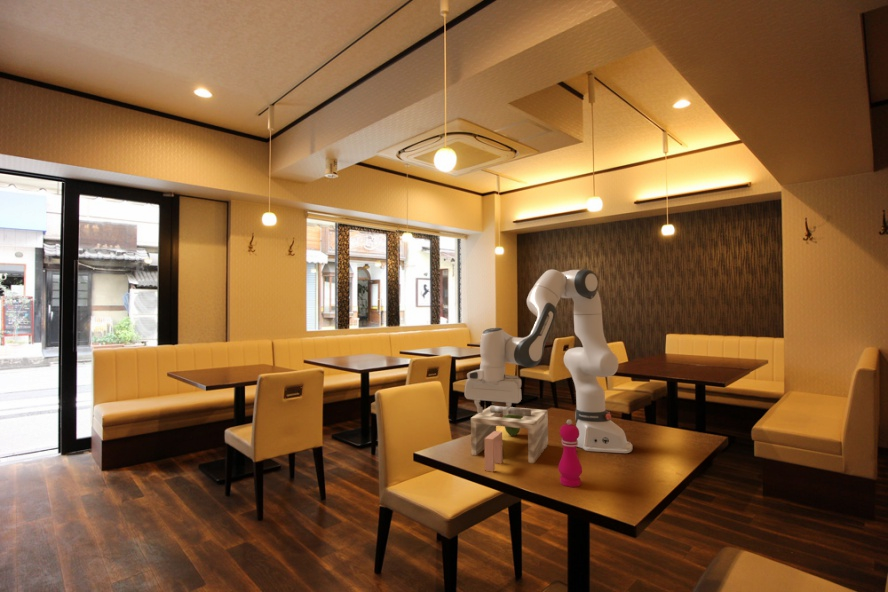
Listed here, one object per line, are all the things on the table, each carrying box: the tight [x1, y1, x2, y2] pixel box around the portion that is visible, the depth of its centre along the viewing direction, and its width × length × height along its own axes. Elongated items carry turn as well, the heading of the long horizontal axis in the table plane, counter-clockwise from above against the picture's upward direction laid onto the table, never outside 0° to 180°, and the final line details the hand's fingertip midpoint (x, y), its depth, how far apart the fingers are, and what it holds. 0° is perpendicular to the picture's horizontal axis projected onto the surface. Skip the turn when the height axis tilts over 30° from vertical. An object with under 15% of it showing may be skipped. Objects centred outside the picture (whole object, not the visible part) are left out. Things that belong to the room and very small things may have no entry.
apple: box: [502, 414, 524, 437], centre depth 199 cm, size 9×8×12 cm
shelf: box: [470, 405, 549, 464], centre depth 179 cm, size 24×24×16 cm
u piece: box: [484, 430, 503, 472], centre depth 159 cm, size 3×10×11 cm, turn 155°
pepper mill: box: [557, 419, 583, 488], centre depth 144 cm, size 7×7×20 cm
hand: (492, 413), depth 160 cm, fingers open, 8 cm apart
